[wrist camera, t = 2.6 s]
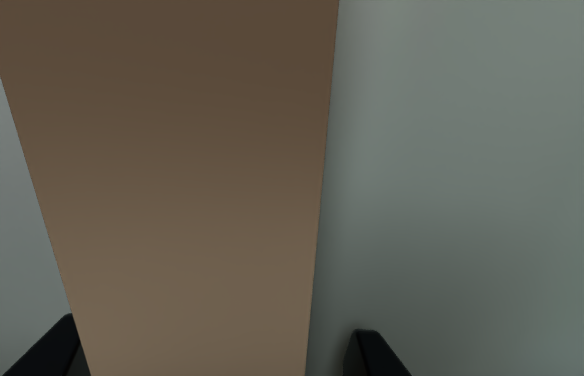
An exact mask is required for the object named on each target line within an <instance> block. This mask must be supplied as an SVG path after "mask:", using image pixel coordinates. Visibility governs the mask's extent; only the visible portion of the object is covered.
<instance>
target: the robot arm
mask: <svg viewBox="0 0 584 376" xmlns="http://www.w3.org/2000/svg"><path fill="white" fill-rule="evenodd" d="M2 376H91V374H90V370H89V367H88V364H87V360H86V357H85V354H84V350H83V347H82V344H81V341H80V337H79V334H78V331H77V327H76V324H75V321H74V318H73V314H72V313H69V314H66V315H64V316H63V317H62V318H61V319H60V320H59V321H58V322H57V323H56V324H55V325H54V326H53V327H52V328H51V329H50V330H49V331H48V332H47V333H46V334H45V335H44V336H42V337H41V338H40V339H39V340H38V341H37V342H36V343H35V344H34V345H33V346H32V347H31V348H30V349H29V350H28V351H27V352H26V353H25V354H24V355H23V356H22V357H21V358H20V359H19V360H18V361H17V362H16V363H15V364H14V365H13V366H12V367H11V368H10V369H9V370H8V371H6V372H5V373H4V374H3V375H2ZM343 376H412V375H411V374H410V373H409V371H408V370H407V369H406V367H405V366H404V365H403V364H402V362H401V361H400V360H399V358H398V357H397V356H396V354H395V353H394V352H393V350H392V349H391V348H390V346H389V345H388V344H387V343H386V341H385V340H384V339H383V337H382V336H381V335H380V334H379V333H378V332H377V331H375V330H366V329H356V330H354V331H353V333H352V335H351V338H350V341H349V344H348V347H347V350H346V353H345V356H344V360H343Z"/></svg>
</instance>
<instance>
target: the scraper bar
mask: <svg viewBox="0 0 584 376" xmlns="http://www.w3.org/2000/svg"><path fill="white" fill-rule="evenodd" d="M338 6H339V0H0V77H1V80H2V83H3V87H4V90H5V93H6V97H7V100H8V103H9V106H10V110H11V113H12V116H13V120H14V123H15V126H16V130H17V133H18V136H19V139H20V143H21V146H22V149H23V153H24V156H25V159H26V163H27V166H28V169H29V172H30V176H31V179H32V182H33V186H34V189H35V192H36V196H37V199H38V202H39V205H40V209H41V212H42V215H43V219H44V222H45V225H46V228H47V232H48V235H49V238H50V242H51V245H52V248H53V252H54V255H55V258H56V261H57V265H58V268H59V271H60V275H61V278H62V281H63V285H64V288H65V291H66V294H67V298H68V301H69V304H70V308H71V311H72V314H73V318H74V321H75V324H76V327H77V331H78V334H79V337H80V341H81V344H82V347H83V350H84V354H85V357H86V360H87V364H88V367H89V370H90V374H91V376H305V366H306V355H307V344H308V333H309V322H310V311H311V300H312V290H313V279H314V268H315V257H316V246H317V235H318V224H319V213H320V202H321V191H322V180H323V169H324V159H325V148H326V137H327V126H328V115H329V104H330V93H331V82H332V71H333V60H334V49H335V38H336V28H337V17H338Z"/></svg>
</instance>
